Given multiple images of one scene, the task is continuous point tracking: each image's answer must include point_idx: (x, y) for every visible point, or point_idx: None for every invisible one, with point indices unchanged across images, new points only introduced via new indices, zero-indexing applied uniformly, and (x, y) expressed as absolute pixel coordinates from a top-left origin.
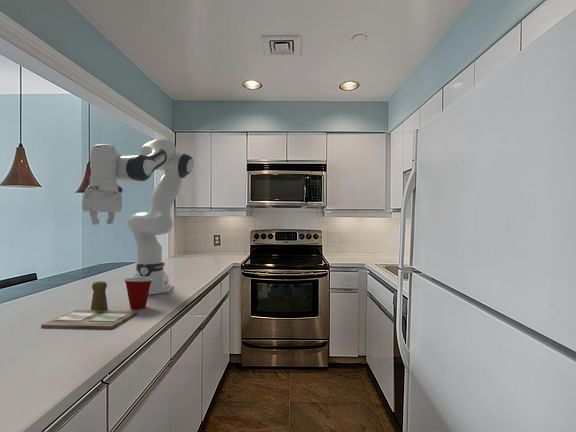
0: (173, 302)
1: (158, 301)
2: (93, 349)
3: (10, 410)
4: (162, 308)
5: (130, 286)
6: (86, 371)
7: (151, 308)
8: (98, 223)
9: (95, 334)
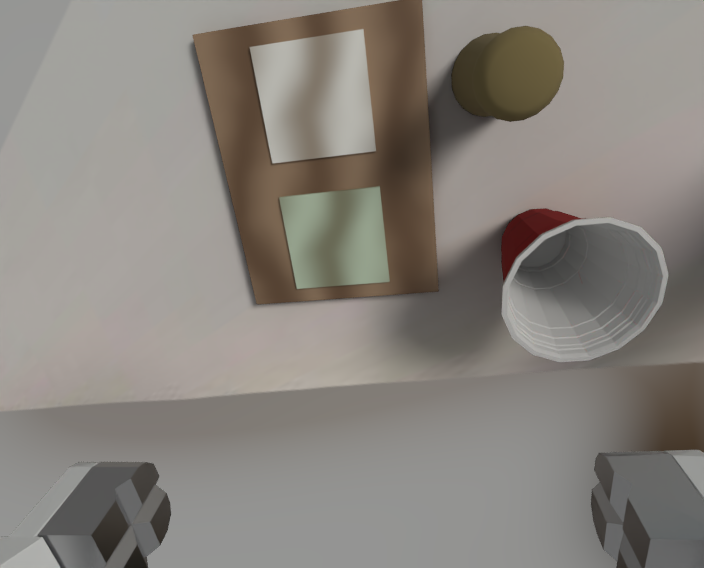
0: None
1: None
2: (123, 343)
3: None
4: None
5: (506, 272)
6: (40, 394)
7: None
8: (149, 530)
9: (207, 281)
